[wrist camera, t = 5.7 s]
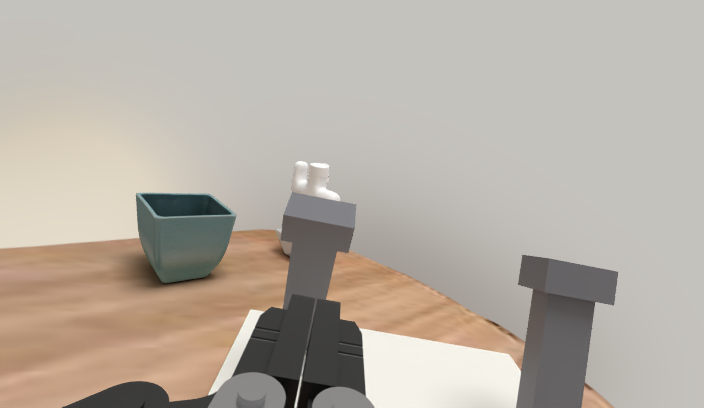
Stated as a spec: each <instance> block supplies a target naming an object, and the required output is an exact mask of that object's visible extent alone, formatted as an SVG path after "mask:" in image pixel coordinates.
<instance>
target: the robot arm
mask: <svg viewBox="0 0 704 408" xmlns="http://www.w3.org/2000/svg"><path fill="white" fill-rule="evenodd" d="M314 303H315V298H313V297H308V296H302V295H297V294H292V296H291V299H290V302H289V305H288V308H287V310H286V309H280V308H274V307H271V308H269V309H268V310H267V311H265V312H264V313H263V314H261V315H260V317H259V319H258V321H257V323H256V325H255V329H254V330H253V332H252V334H251V337H250V338H249V341H248V343H247V345H246V347H245V349H244V351H243V354H242V356H241V358H240V360H239V362H238V364H237V367H236V369H235V371H234V373H233V375H232V377H231V378H230V379H228V380H227V381H225V382H224V383H223V384H222V385H221V387H220V388H219V390H218V391H217V392H215V393H213V394H211V395H208V396H205V397H202V398H198V399H192V400H183V401H173V402H169V397H168V394H167V393H166V391H165V390H164V389H163V388H162V387H160V386H158V385H156V384H154V383H150V382H142V381H136V382H127V383H123V384H119V385H116V386H113V387H110V388H108V389H106V390H103V391H101V392H99V393H96V394H94V395H91V396H89V397H87V398H84V399H82V400H79V401H77V402H75V403H72V404H70V405H67V406H65V407H63V408H294V407H295V402H296V396H297V391H298V386H299V381H300V376H301V371H302V366H303V360H304V355H305V350H306V345H307V340H308V334H309V329H310V324H311V319H312V313H313V308H314ZM362 347H363V341H362V332H361V331H360V329H359V328H358V326H357V325H356V323H355V322H352V321H347V320H341V319H340V302H335V301H329V300H324V299H317V303H316V308H315V313H314V318H313V323H312V328H311V333H310V338H309V343H308V349H307V354H306V359H305V364H304V370H303V375H302V381H301V386H300V391H299V397H298V402H297V408H375V407H374V406H373V404H372V403H371V401H370V400H369V399H368V398H367V397H366V389H365V373H364V358H363V348H362Z"/></svg>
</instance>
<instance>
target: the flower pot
mask: <svg viewBox="0 0 704 408" xmlns="http://www.w3.org/2000/svg"><path fill="white" fill-rule="evenodd" d="M136 202H137V220H138V231H139V237H140V241H141V244H142V247H143V250H144V252H145V254H146V256H147V258H148V260H149V262H150V264H151V266H152V267H153V269H154V270H155V272H156V274H157V275H158V277H159V279H160V280H161V282H163V283H170V282H176V281H183V280H189V279H196V278H203V277H206V276H207V275H209V274H210V273H211V272H212V271H213V270H214V268H215V267H216V266H217V265H218V264H219V262H220V261H221V259H222V258H223V256H224V254H225V252H226V249H227V247H228V243H229V240H230V236H231V233H232V229H233V225H234V222H235V219H236V214H235V213H234V212H233V211H232V210H230V209H229V208H228V207H226V206H225V205H224V204H222V203H221V202H220V201H219V200H217V199H216V198H215V197H214V196H212V195H210V194H180V193H179V194H177V193H176V194H173V193H172V194H171V193H137V194H136Z"/></svg>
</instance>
